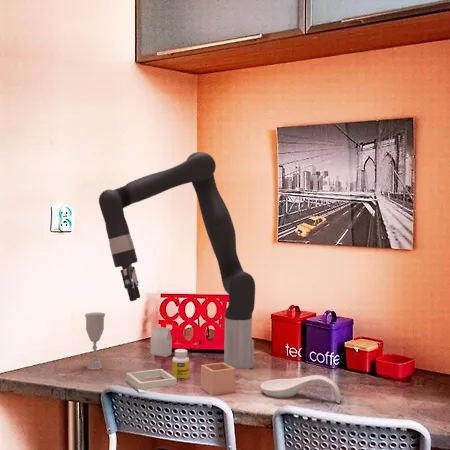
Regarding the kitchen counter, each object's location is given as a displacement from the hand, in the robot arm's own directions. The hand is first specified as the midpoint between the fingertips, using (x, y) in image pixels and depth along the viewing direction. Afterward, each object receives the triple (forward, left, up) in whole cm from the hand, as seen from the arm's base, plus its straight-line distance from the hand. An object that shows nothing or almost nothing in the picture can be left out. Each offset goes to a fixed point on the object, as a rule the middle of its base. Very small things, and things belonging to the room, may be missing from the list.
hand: (135, 299), depth 218 cm
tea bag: (-18, -22, -25) cm, 38 cm away
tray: (-1, +11, -25) cm, 27 cm away
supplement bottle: (-11, +11, -25) cm, 30 cm away
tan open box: (-16, +27, -25) cm, 40 cm away
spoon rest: (-36, +41, -26) cm, 60 cm away
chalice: (+9, -15, -25) cm, 31 cm away
